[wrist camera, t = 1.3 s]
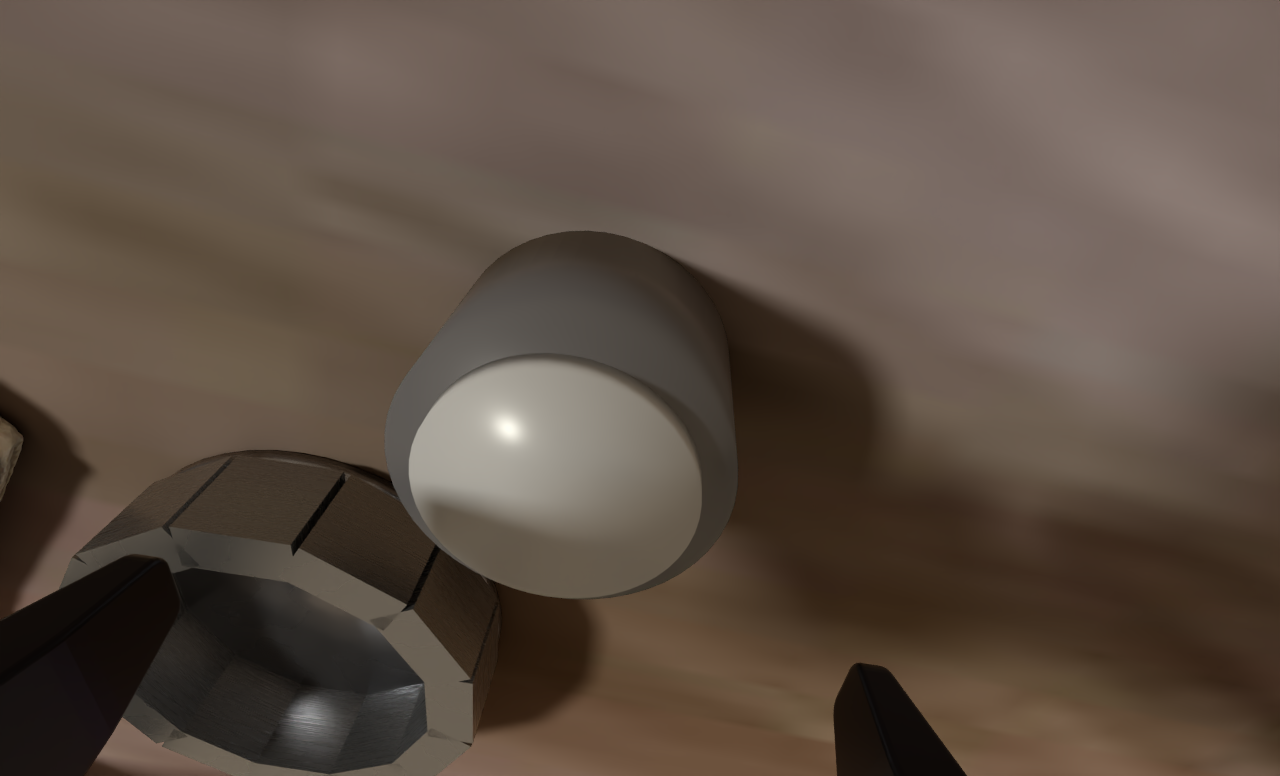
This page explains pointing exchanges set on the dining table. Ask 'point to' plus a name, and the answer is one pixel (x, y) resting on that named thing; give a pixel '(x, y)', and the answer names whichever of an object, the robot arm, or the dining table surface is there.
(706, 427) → the cap
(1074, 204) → the dining table surface
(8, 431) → the washcloth
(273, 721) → the grey ring
